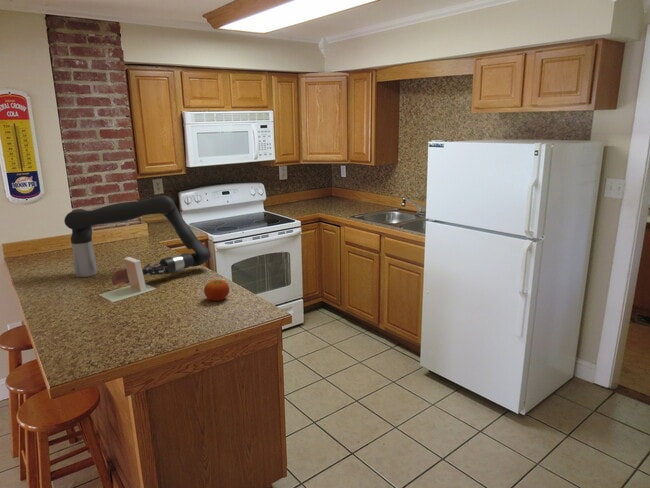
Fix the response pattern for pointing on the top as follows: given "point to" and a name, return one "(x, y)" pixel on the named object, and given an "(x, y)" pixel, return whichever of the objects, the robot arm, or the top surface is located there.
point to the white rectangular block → (135, 273)
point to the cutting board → (124, 293)
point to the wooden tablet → (120, 277)
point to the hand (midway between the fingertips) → (138, 273)
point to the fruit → (216, 290)
